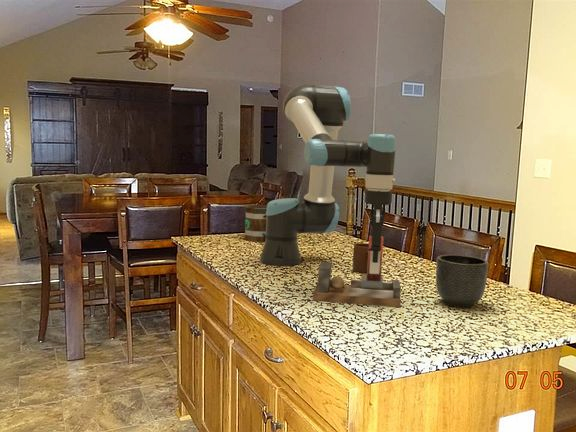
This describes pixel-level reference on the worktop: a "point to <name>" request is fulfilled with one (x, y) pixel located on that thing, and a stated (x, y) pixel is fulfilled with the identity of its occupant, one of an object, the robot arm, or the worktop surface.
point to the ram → (373, 279)
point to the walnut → (337, 282)
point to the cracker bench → (355, 291)
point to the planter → (461, 279)
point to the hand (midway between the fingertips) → (374, 271)
